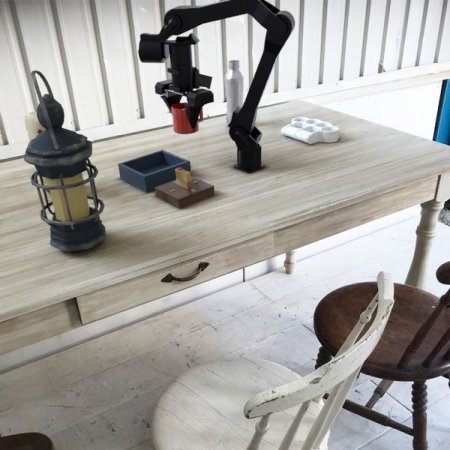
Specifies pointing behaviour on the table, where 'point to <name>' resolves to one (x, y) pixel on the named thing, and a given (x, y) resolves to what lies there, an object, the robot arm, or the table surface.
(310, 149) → the table surface
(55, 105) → the lantern
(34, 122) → the food model
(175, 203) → the panel
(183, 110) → the mug
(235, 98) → the plastic bottle
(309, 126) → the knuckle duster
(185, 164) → the dark blue tray
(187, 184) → the tap knob
